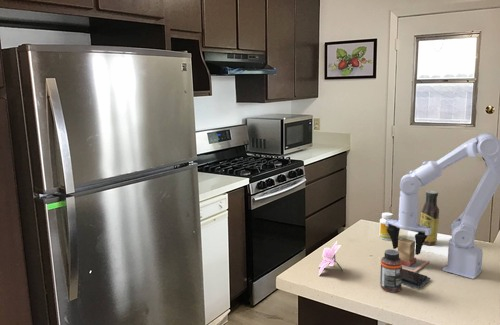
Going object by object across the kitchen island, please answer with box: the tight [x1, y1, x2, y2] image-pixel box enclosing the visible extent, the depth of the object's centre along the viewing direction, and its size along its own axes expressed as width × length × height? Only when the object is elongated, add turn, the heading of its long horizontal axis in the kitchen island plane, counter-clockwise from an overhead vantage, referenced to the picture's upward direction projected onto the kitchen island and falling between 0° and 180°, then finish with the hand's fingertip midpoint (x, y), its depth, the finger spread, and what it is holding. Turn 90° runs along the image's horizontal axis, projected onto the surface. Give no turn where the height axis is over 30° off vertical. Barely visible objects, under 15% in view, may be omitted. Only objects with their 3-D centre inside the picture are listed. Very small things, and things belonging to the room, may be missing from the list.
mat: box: [402, 257, 430, 273], centre depth 144 cm, size 11×11×1 cm
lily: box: [318, 240, 344, 276], centre depth 139 cm, size 12×12×10 cm
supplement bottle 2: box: [379, 248, 402, 293], centre depth 126 cm, size 6×6×11 cm
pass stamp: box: [397, 237, 417, 267], centre depth 143 cm, size 5×5×8 cm
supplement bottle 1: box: [378, 211, 394, 241], centre depth 167 cm, size 5×5×10 cm
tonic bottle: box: [419, 189, 440, 246], centre depth 160 cm, size 6×6×20 cm
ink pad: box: [401, 269, 432, 290], centre depth 132 cm, size 10×8×1 cm
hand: (406, 250), depth 143 cm, fingers open, 7 cm apart
